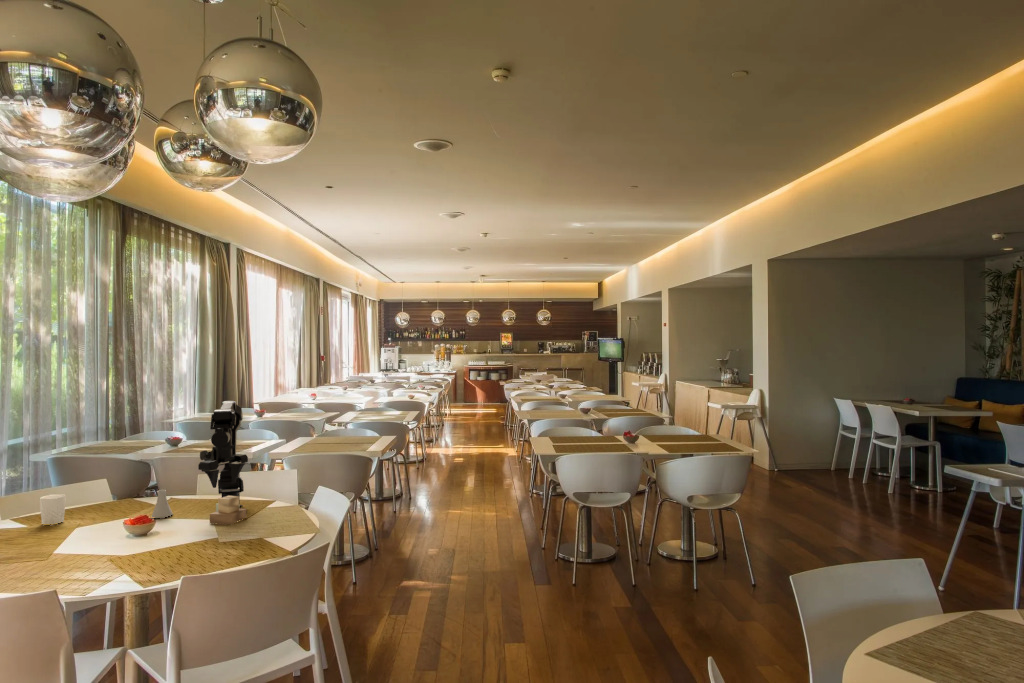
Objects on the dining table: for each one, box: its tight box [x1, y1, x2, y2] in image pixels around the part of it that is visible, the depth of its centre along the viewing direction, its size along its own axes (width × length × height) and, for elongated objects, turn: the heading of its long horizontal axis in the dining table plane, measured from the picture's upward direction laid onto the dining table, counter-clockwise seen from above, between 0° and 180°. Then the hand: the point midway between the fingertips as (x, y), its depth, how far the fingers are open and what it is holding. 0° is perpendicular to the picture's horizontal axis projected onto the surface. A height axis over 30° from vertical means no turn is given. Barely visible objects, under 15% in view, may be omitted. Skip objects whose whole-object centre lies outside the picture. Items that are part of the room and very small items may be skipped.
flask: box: [151, 489, 174, 519], centre depth 253 cm, size 7×7×10 cm
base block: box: [209, 508, 248, 525], centre depth 245 cm, size 9×9×4 cm
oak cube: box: [217, 496, 239, 513], centre depth 246 cm, size 5×5×5 cm
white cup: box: [39, 493, 66, 525], centre depth 246 cm, size 8×8×10 cm
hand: (224, 485), depth 248 cm, fingers open, 9 cm apart
